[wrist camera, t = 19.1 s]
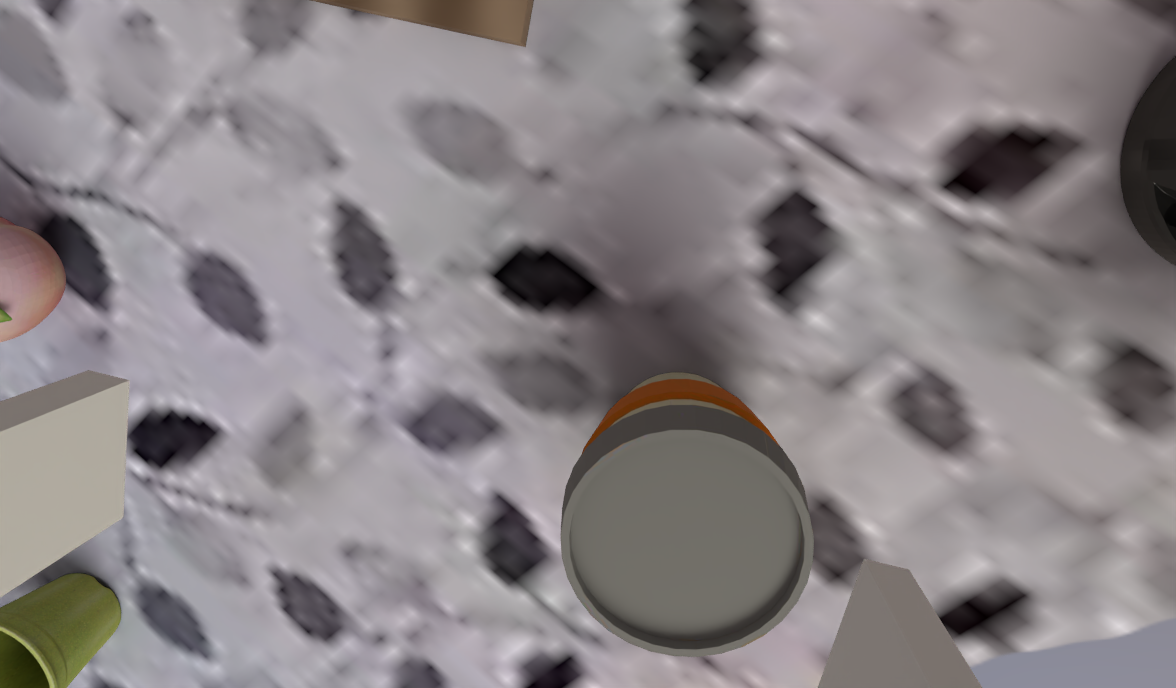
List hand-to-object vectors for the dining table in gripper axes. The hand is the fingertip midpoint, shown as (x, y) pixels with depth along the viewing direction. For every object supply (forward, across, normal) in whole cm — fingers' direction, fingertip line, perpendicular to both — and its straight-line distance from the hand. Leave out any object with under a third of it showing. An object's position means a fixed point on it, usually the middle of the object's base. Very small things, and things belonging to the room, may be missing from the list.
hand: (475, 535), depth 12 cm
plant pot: (+35, -35, -36) cm, 61 cm away
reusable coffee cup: (+35, +7, -10) cm, 37 cm away
